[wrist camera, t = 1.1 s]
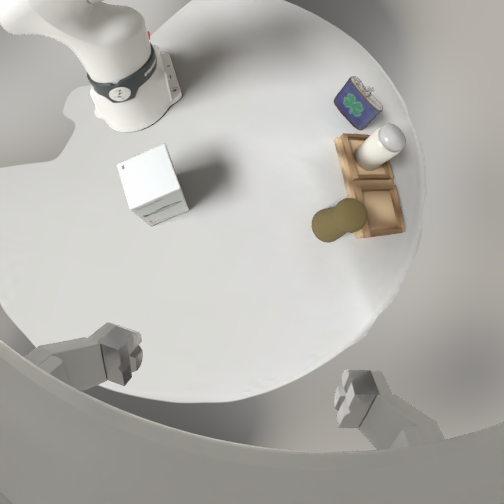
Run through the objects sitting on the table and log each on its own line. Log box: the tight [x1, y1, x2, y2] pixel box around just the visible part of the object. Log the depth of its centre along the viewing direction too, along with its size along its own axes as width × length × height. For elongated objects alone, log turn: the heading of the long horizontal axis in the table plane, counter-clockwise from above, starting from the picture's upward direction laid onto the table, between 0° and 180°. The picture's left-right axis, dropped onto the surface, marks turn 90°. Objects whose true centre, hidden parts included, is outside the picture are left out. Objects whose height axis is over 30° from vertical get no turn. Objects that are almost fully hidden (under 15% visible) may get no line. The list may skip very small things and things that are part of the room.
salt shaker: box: [354, 123, 406, 171], centre depth 43 cm, size 6×6×11 cm
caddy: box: [334, 133, 405, 238], centre depth 48 cm, size 20×11×3 cm, turn 8°
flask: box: [334, 76, 383, 130], centre depth 46 cm, size 9×3×11 cm, turn 37°
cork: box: [312, 198, 367, 242], centre depth 42 cm, size 6×6×11 cm
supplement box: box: [117, 144, 189, 226], centre depth 38 cm, size 7×7×13 cm
